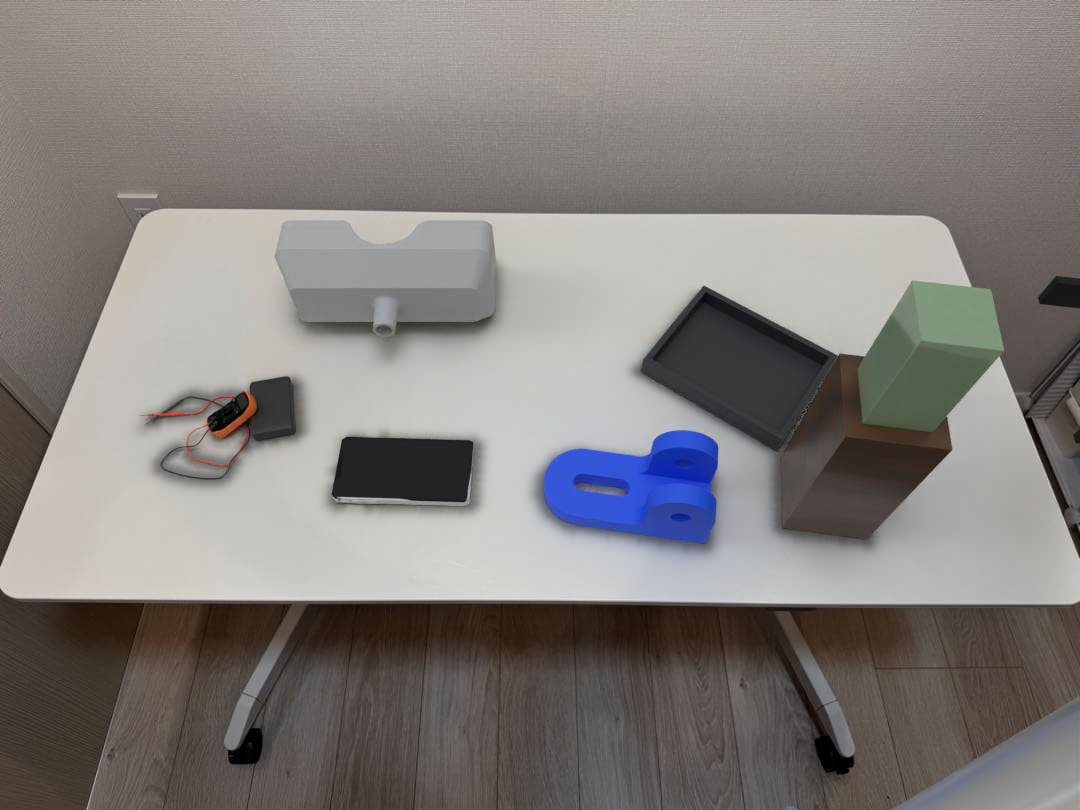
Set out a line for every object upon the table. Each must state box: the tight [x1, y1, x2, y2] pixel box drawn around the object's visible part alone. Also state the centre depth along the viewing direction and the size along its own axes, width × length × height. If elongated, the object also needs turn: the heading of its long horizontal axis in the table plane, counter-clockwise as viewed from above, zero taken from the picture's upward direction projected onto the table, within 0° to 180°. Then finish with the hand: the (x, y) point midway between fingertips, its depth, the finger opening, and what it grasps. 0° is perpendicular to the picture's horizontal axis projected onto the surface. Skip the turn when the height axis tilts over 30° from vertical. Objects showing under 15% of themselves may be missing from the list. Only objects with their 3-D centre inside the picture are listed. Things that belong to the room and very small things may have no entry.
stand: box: [780, 352, 953, 541], centre depth 77 cm, size 9×9×20 cm
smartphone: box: [331, 436, 475, 507], centre depth 86 cm, size 8×1×15 cm
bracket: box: [543, 429, 719, 545], centre depth 81 cm, size 18×8×9 cm, turn 81°
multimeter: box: [138, 375, 296, 480], centre depth 87 cm, size 18×12×3 cm, turn 98°
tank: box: [274, 219, 497, 338], centre depth 93 cm, size 25×16×12 cm, turn 90°
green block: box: [858, 280, 1005, 432], centre depth 63 cm, size 6×6×12 cm
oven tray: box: [640, 285, 839, 451], centre depth 93 cm, size 15×19×3 cm
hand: (1064, 355), depth 60 cm, fingers open, 13 cm apart
